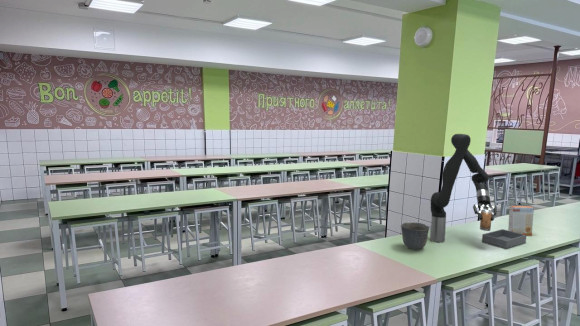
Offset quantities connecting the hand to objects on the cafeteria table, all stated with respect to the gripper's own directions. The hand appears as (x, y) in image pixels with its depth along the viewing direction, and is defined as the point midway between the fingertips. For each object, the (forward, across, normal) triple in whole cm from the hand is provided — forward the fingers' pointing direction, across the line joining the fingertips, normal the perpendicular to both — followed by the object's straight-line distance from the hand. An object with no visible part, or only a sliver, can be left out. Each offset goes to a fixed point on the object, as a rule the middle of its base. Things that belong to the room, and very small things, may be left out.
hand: (486, 219), depth 227 cm
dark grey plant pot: (+22, -44, +7) cm, 49 cm away
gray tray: (+1, +16, +26) cm, 31 cm away
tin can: (+4, 0, +6) cm, 7 cm away
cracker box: (-15, +34, +42) cm, 56 cm away
